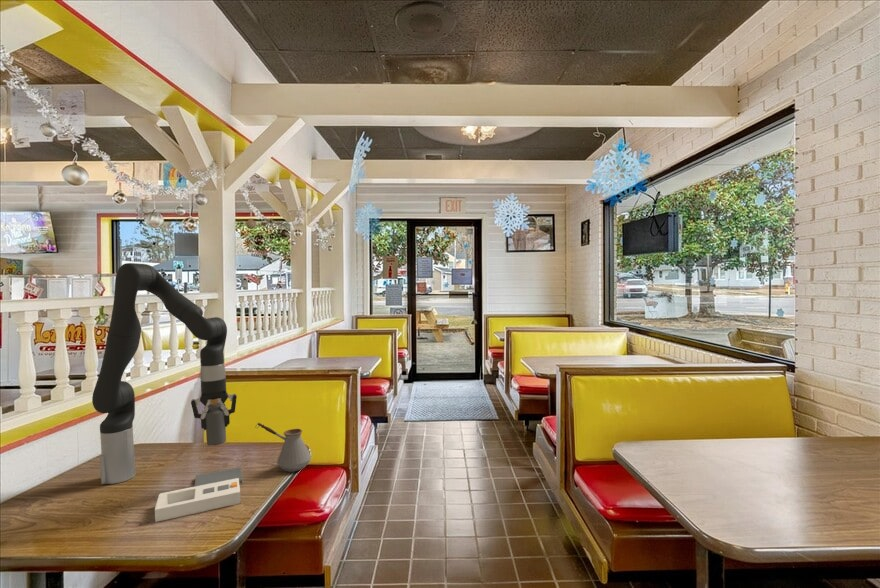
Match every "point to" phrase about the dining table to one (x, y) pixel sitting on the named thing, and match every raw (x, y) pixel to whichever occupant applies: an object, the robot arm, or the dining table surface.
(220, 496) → the power strip
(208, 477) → the mat
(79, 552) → the dining table surface
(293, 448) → the coffee pot
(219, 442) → the bottle
